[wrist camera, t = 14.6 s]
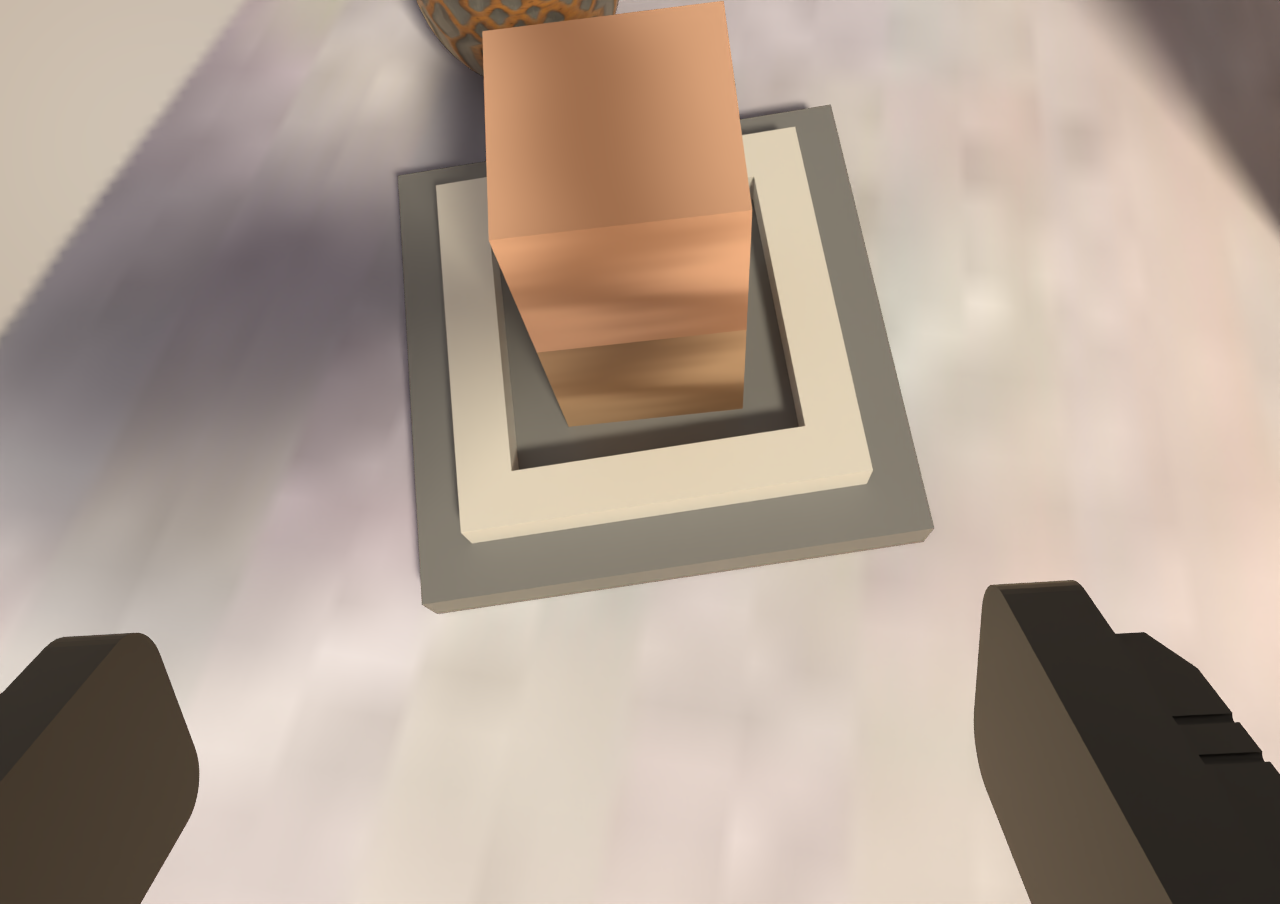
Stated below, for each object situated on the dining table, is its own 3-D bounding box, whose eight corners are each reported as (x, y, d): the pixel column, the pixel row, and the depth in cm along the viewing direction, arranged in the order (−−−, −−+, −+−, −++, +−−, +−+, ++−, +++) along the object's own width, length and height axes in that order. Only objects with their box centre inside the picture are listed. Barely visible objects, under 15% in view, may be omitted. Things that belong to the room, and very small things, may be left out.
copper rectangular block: (723, 255, 29) (723, 0, 20) (743, 408, 27) (752, 210, 18) (559, 273, 29) (482, 31, 20) (568, 426, 28) (489, 240, 18)
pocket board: (826, 134, 32) (834, 78, 30) (923, 541, 27) (943, 516, 25) (412, 202, 32) (385, 152, 30) (437, 613, 28) (408, 596, 25)
